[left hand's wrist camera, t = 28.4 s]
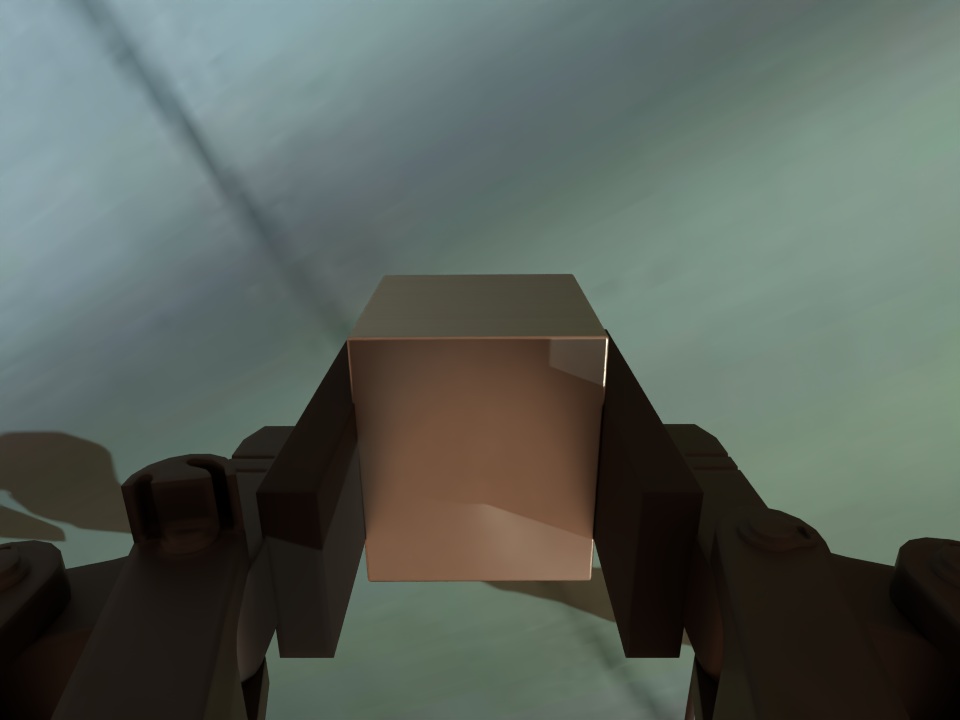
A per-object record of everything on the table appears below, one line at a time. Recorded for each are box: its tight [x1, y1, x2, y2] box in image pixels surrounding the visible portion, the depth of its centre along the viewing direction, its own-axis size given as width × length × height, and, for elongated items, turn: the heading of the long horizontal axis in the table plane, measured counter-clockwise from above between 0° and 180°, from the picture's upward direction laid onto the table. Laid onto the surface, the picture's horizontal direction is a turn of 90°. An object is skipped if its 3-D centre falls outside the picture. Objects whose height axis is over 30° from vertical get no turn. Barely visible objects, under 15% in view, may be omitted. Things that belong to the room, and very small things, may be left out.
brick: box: [347, 274, 609, 582], centre depth 13 cm, size 5×4×4 cm
